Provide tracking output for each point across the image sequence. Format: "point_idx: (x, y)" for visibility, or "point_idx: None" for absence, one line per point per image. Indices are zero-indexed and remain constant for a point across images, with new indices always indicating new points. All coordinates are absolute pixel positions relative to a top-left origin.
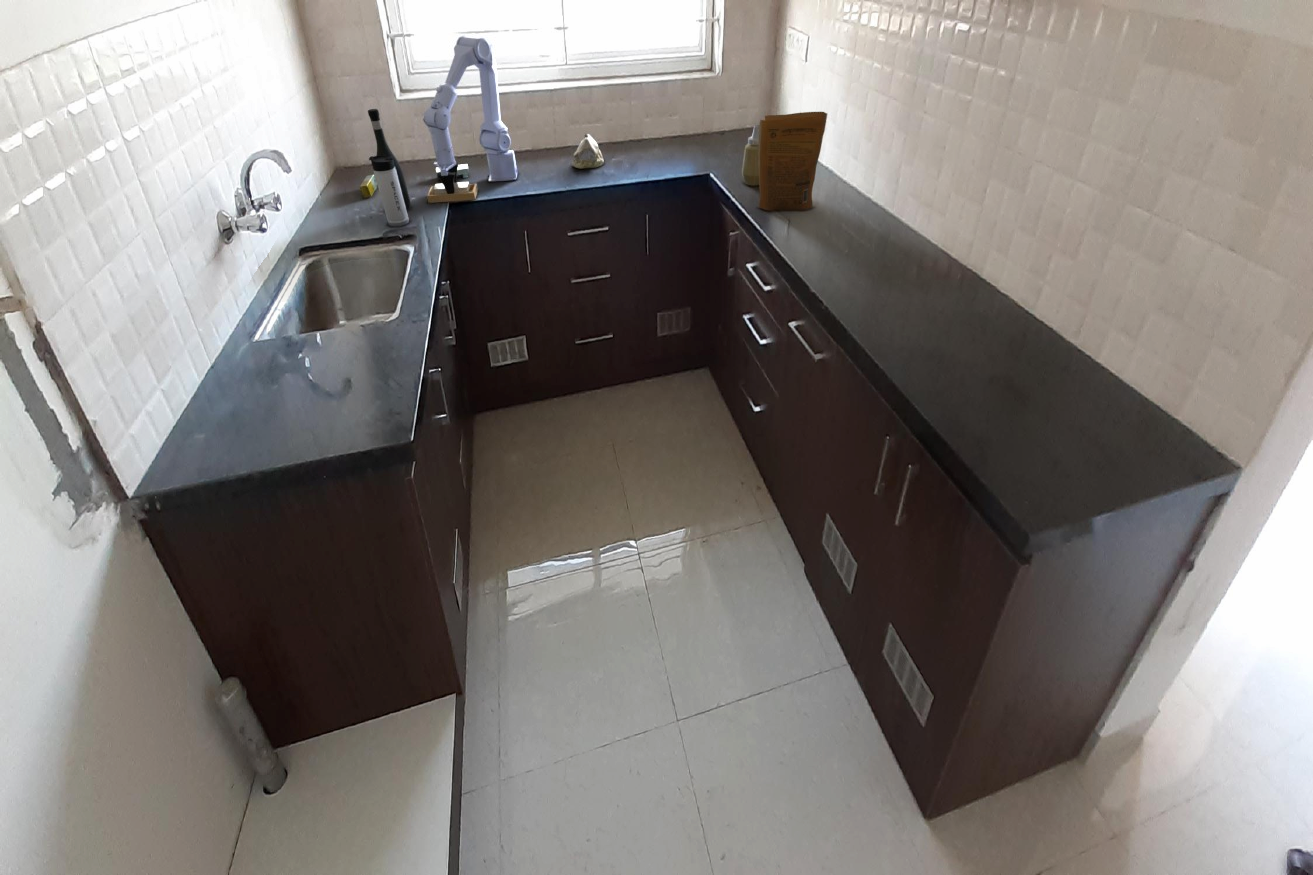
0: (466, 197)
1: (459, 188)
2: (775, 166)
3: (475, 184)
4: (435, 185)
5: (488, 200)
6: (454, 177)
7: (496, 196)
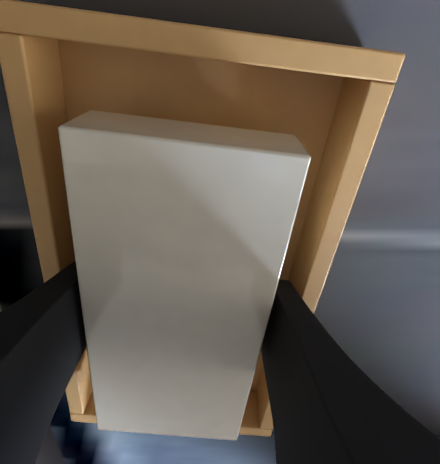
0: None
1: (94, 381)
2: None
3: (252, 433)
4: (236, 161)
5: (72, 422)
6: (277, 417)
7: (131, 448)
